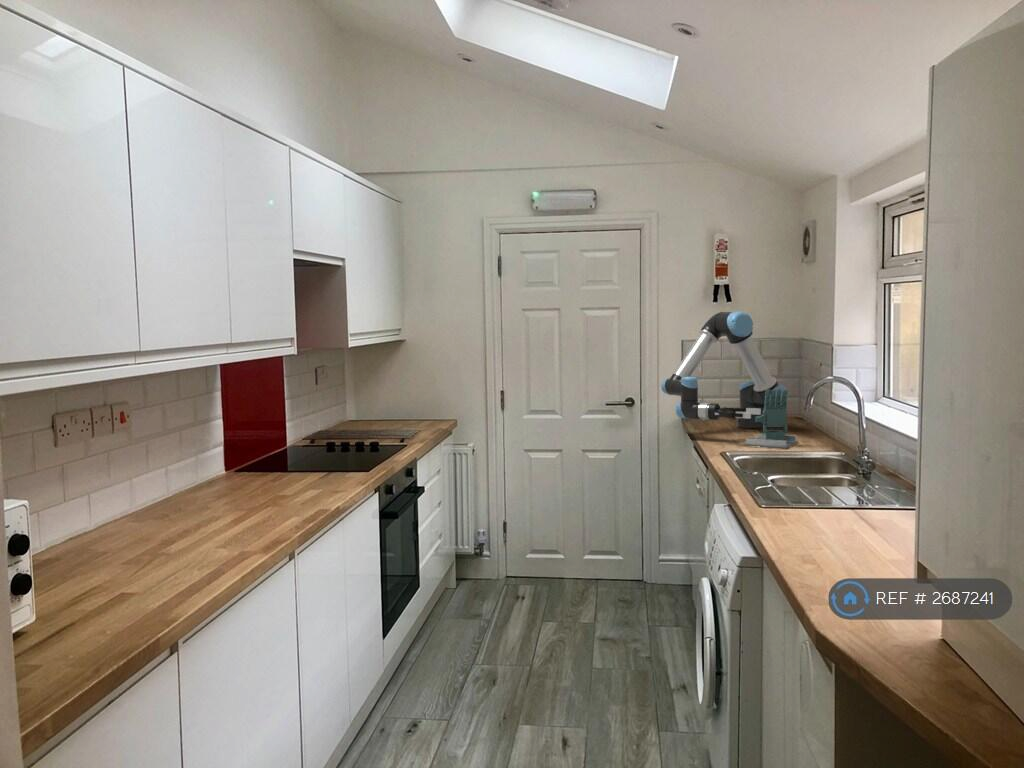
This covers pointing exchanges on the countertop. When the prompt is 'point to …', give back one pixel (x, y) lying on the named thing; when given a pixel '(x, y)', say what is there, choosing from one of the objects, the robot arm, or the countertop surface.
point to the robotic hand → (774, 414)
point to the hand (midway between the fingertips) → (755, 413)
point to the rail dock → (771, 441)
